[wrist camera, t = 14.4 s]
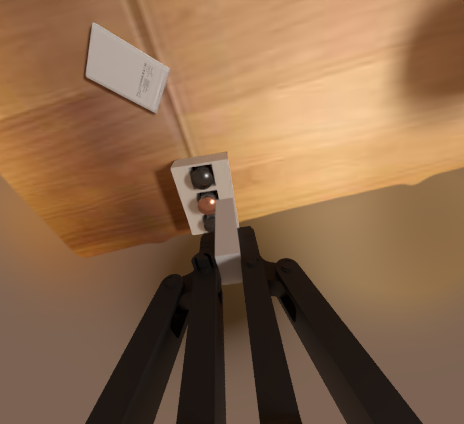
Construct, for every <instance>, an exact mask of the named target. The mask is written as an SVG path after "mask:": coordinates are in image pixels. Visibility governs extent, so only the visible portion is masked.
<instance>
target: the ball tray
mask: <svg viewBox="0 0 464 424" xmlns="http://www.w3.org/2000/svg"><path fill="white" fill-rule="evenodd" d="M208 164H212V168H213V173H214V177H213V182H212V185H211V186H210V187H209V188H208V189H205V190H200V189H197V188H195V187H194V186H193V185H192V182H191V176H192V174H193V172H194V171H193V167H196V166H202V165H208ZM170 169H171V172H172V175H173V178H174V181H175V184H176V187H177V190H178V193H179V196H180V199H181V202H182V205H183V208H184V211H185V214H186V217H187V220H188V223H189V226H190V229H191V232H192V234H193V235H196V234H203V233H208V232H207V231H206V230H205V228H204V222H205V220H206V215H204V214H202V213H201V212H200V211H199V210H198V202H199V200H200V199H201V197H200V192H207V191H213V190H217V192H218V197H219V199H216V200H220V199H227V198H233V201H234V208H235V215H236V221H237V228H239V223H238V216H237V210H236V203H235V197H234V191H233V185H232V178H231V172H230V166H229V160H228V154H227V152H222V153H216V154H210V155H204V156H198V157H192V158H186V159H180V160H175V161H174V163H173V164H172V166H171V168H170ZM215 213H216V212H215Z"/></svg>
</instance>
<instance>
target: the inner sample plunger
mask: <svg viewBox="0 0 464 424" xmlns="http://www.w3.org/2000/svg"><path fill="white" fill-rule="evenodd" d="M211 171H212V170H211V166H210V165H209V164H208V165H202V166H196V169H195V171H194V172H193V174H192V176H191V182H192V185H193V186H194V187H195V188H197V189H200V190H205V189H208V188H209V187H210V186H211V185H212V182H213V177H212V174H211Z"/></svg>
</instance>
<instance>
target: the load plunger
mask: <svg viewBox="0 0 464 424" xmlns="http://www.w3.org/2000/svg"><path fill="white" fill-rule="evenodd" d="M198 210H199V211H200V212H201V213H202V214H204V215H212V214H214V213H215V212H216V191H215V190H213V191H207V192H202V194H201V199H200V200H199V202H198Z"/></svg>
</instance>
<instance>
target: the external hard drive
mask: <svg viewBox="0 0 464 424" xmlns="http://www.w3.org/2000/svg"><path fill="white" fill-rule="evenodd" d="M169 72H170V68H168V67H167V66H165V65H163V64H162V63H160V62H158V61H157V60H155V59H154V58H152V57H150V56H149V55H147V54H145V53H144V52H142V51H140V50H139V49H137V48H136V47H134V46H132V45H131V44H129V43H127V42H126V41H124V40H122V39H121V38H119V37H117V36H116V35H114V34H113V33H111V32H109V31H108V30H106V29H104V28H103V27H101V26H99V25H98V24H96V23H94V22H93V24H92V29H91V37H90V45H89V52H88V60H87V68H86V77H87V78H89V79H91V80H93V81H95V82H96V83H98V84H100V85H102V86H104V87H106V88H108V89H110V90H112V91H114V92H116V93H117V94H119V95H121V96H123V97H125V98H127V99H129V100H131V101H133V102H135V103H137V104H138V105H140V106H142V107H144V108H146V109H148V110H150V111H152V112H154V113H157V111H158V108H159V105H160V102H161V98H162V94H163V90H164V88H165V85H166V82H167V79H168V76H169Z"/></svg>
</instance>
